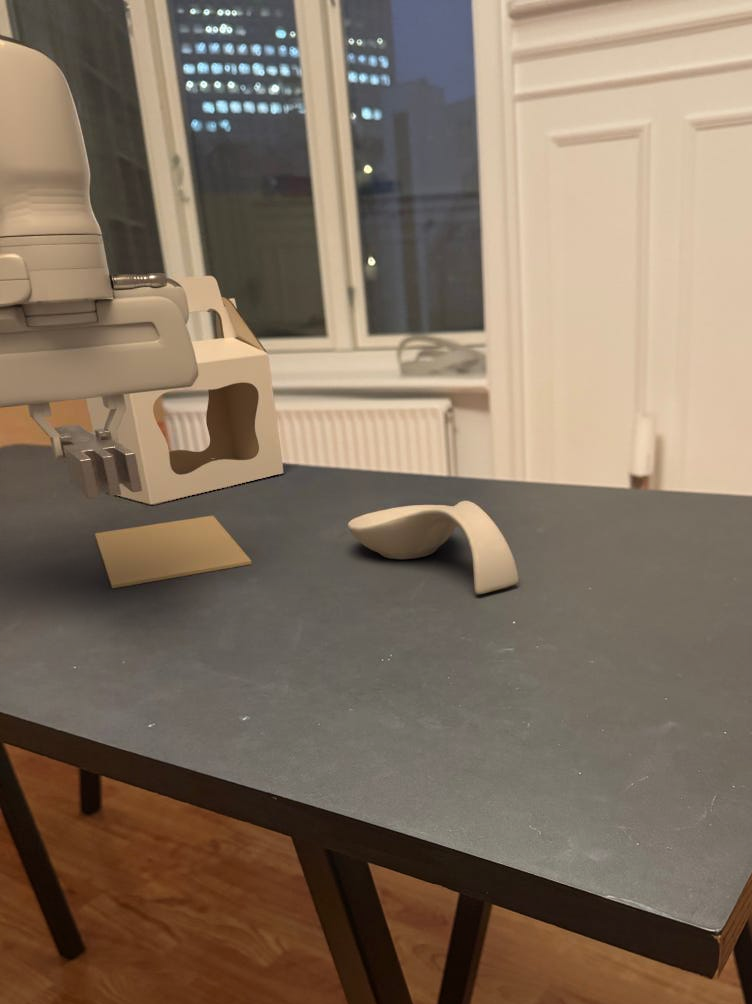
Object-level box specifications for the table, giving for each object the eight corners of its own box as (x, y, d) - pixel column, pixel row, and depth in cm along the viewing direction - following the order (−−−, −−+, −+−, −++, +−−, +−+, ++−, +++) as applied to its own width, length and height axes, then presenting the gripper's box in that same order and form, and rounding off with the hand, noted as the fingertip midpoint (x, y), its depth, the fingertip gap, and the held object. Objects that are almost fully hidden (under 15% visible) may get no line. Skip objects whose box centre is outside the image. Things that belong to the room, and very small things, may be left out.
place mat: (252, 564, 97) (251, 560, 97) (112, 588, 92) (111, 584, 91) (213, 518, 115) (213, 515, 115) (95, 536, 110) (94, 533, 110)
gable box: (236, 464, 146) (207, 275, 135) (286, 474, 138) (259, 273, 127) (103, 493, 131) (59, 284, 120) (150, 506, 123) (107, 282, 112)
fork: (51, 461, 84) (43, 428, 83) (96, 455, 86) (89, 423, 85) (88, 499, 69) (80, 460, 68) (142, 491, 71) (135, 452, 70)
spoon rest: (332, 550, 100) (325, 485, 98) (424, 529, 106) (420, 467, 103) (448, 607, 82) (443, 530, 79) (552, 579, 88) (550, 505, 85)
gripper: (172, 272, 80) (198, 432, 85) (-98, 285, 70) (-49, 466, 75) (192, 271, 75) (219, 442, 80) (-95, 285, 65) (-43, 478, 70)
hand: (87, 454), depth 78 cm, fingers closed on fork, 2 cm apart
